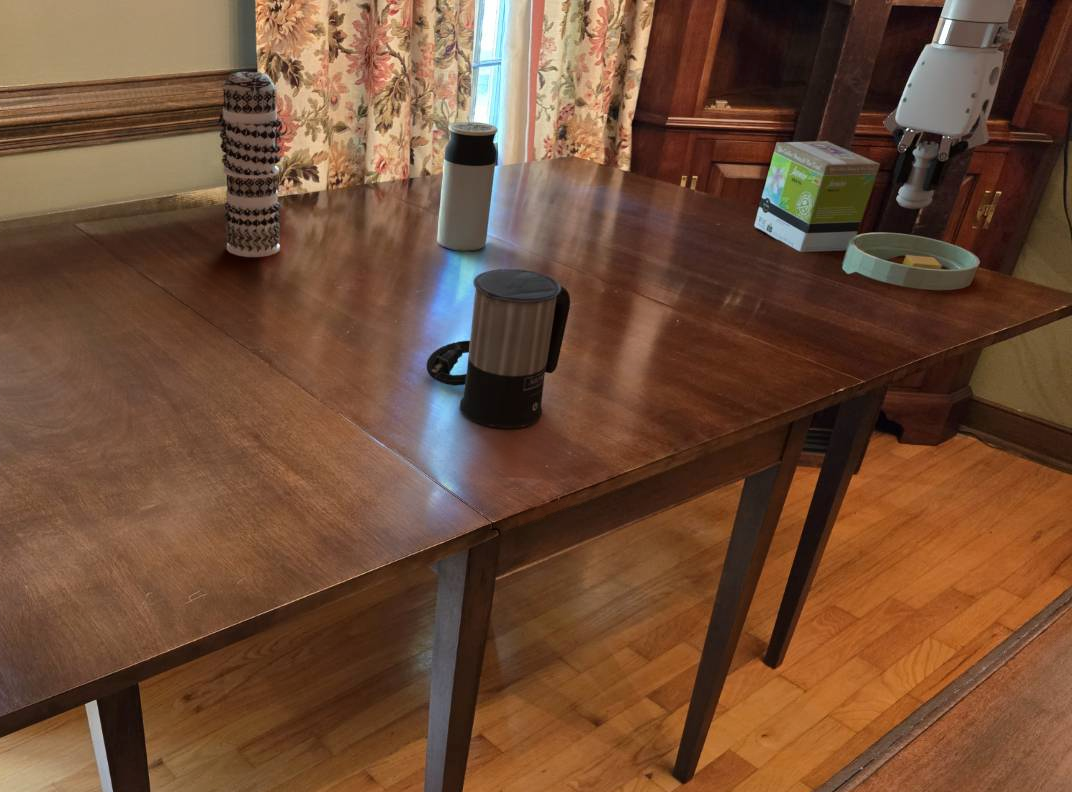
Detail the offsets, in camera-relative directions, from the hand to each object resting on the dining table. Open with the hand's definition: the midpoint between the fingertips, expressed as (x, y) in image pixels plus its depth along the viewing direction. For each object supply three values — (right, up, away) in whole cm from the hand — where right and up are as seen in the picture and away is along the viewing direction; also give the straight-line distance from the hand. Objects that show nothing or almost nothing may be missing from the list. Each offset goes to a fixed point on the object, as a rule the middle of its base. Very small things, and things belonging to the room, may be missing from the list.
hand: (915, 184), depth 131 cm
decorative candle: (-93, -3, +20) cm, 95 cm away
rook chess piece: (+1, -2, +2) cm, 3 cm away
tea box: (0, +3, +34) cm, 34 cm away
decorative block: (+8, -10, +15) cm, 20 cm away
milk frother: (-62, -32, -20) cm, 73 cm away
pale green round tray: (+9, -8, +19) cm, 23 cm away
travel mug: (-59, 0, +26) cm, 65 cm away
